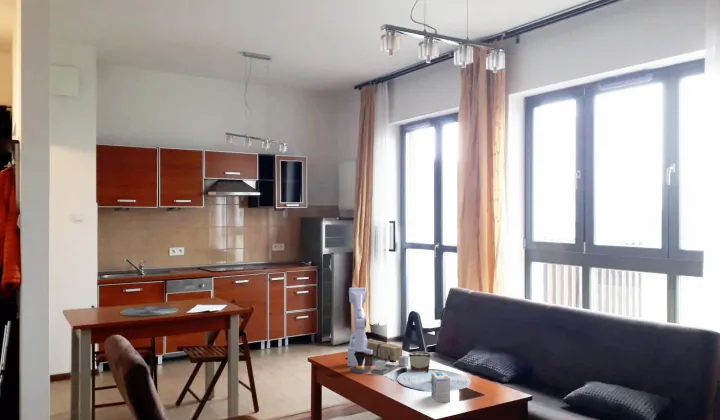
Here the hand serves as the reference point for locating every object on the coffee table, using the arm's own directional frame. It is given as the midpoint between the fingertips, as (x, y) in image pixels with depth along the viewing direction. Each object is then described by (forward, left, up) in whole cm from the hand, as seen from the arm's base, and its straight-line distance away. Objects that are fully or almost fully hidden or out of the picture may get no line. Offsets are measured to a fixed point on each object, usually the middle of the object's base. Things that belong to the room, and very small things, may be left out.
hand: (360, 365), depth 305 cm
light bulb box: (+55, -20, -4) cm, 59 cm away
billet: (+15, +22, -4) cm, 27 cm away
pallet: (+11, +7, -4) cm, 14 cm away
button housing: (0, 0, -4) cm, 4 cm away
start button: (0, 0, -3) cm, 3 cm away
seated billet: (+11, +3, -3) cm, 12 cm away
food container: (+26, +20, -4) cm, 33 cm away
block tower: (-9, +41, -4) cm, 42 cm away
